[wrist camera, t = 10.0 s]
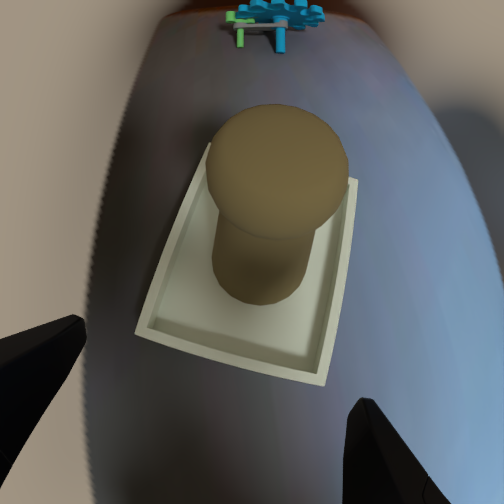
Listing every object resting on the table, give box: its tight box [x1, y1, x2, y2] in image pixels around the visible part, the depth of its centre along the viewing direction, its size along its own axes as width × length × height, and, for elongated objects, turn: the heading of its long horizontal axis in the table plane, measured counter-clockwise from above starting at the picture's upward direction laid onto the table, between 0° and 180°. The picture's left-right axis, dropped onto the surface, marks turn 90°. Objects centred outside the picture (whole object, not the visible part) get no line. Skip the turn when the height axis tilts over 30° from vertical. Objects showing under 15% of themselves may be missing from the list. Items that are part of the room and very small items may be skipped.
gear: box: [226, 0, 325, 54], centre depth 28 cm, size 11×6×10 cm
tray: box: [134, 142, 358, 386], centre depth 20 cm, size 14×11×2 cm
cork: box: [205, 104, 349, 306], centre depth 15 cm, size 6×6×11 cm
